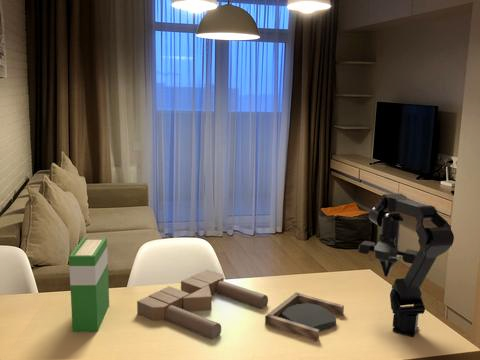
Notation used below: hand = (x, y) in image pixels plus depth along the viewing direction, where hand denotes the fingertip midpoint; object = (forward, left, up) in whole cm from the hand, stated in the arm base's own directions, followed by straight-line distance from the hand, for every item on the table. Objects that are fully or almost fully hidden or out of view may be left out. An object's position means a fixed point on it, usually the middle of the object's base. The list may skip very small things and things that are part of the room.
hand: (386, 276), depth 166 cm
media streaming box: (+18, +22, -13) cm, 31 cm away
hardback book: (+75, +60, -12) cm, 97 cm away
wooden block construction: (+49, +33, -13) cm, 61 cm away
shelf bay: (+18, +21, -12) cm, 30 cm away
